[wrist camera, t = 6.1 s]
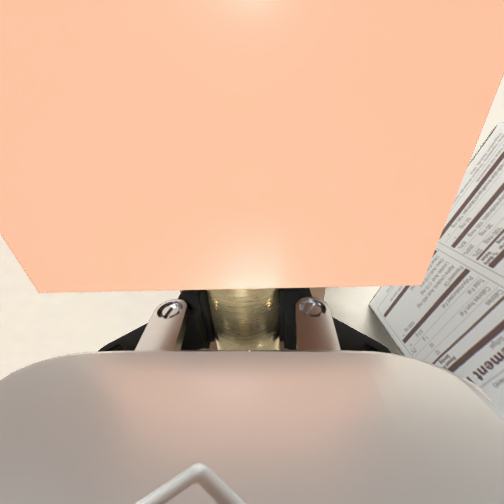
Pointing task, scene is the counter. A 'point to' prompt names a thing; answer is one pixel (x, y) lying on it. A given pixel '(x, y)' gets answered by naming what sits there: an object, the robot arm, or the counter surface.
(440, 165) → the socket block
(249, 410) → the robot arm
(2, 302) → the counter surface
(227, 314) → the tube
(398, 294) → the supplement box
